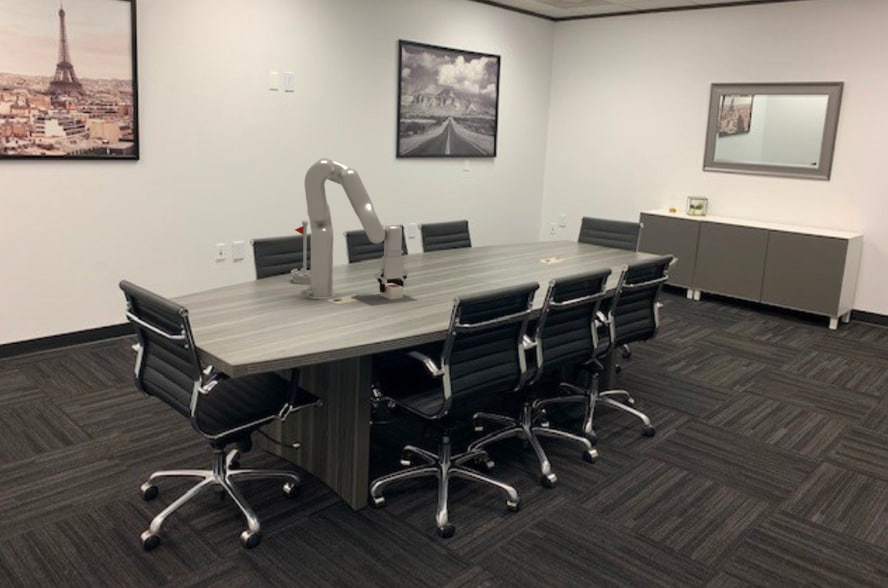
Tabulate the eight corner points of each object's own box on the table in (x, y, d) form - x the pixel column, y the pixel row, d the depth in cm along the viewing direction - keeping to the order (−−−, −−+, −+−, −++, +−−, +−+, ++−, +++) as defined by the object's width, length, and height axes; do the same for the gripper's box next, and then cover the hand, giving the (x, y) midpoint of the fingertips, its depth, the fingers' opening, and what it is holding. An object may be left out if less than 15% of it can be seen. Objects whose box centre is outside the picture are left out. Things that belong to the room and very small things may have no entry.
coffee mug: (401, 286, 349) (402, 266, 347) (383, 285, 350) (384, 265, 347) (403, 281, 361) (404, 262, 359) (386, 280, 361) (387, 261, 359)
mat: (371, 307, 307) (371, 305, 306) (350, 298, 320) (350, 297, 320) (418, 301, 321) (418, 300, 321) (395, 293, 335) (395, 291, 335)
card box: (379, 295, 327) (380, 284, 325) (391, 293, 330) (392, 282, 329) (390, 299, 320) (391, 288, 318) (402, 297, 324) (403, 286, 322)
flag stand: (321, 280, 356) (322, 219, 349) (314, 285, 343) (314, 222, 336) (295, 278, 357) (295, 217, 350) (287, 283, 344) (287, 220, 338)
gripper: (404, 250, 329) (402, 287, 333) (371, 253, 318) (370, 291, 322) (413, 253, 323) (412, 291, 327) (380, 256, 313) (379, 294, 316)
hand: (391, 291), depth 325 cm, fingers open, 9 cm apart
